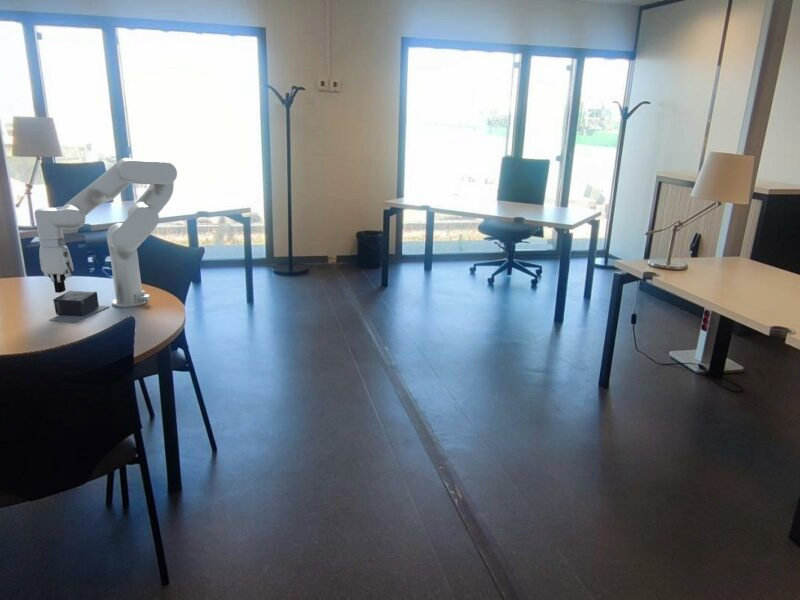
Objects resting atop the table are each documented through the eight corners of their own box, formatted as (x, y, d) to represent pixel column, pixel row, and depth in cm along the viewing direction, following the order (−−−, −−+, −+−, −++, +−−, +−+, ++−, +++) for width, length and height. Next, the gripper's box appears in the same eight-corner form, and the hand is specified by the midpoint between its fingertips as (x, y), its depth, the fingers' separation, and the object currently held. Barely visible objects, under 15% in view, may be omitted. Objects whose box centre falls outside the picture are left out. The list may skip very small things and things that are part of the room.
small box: (55, 316, 200) (83, 317, 200) (52, 299, 198) (80, 300, 197) (73, 306, 210) (99, 307, 209) (70, 290, 208) (97, 291, 207)
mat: (109, 307, 211) (109, 306, 211) (74, 323, 194) (74, 322, 194) (85, 305, 213) (85, 304, 213) (48, 320, 196) (48, 319, 196)
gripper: (78, 242, 199) (85, 290, 204) (42, 239, 201) (50, 287, 207) (62, 246, 192) (70, 296, 197) (25, 243, 194) (34, 293, 200)
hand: (60, 291), depth 202 cm, fingers closed
